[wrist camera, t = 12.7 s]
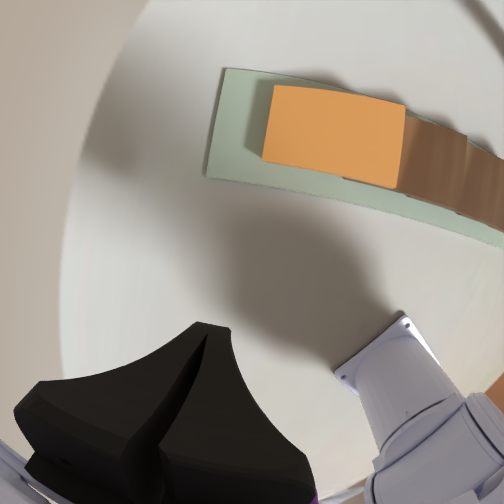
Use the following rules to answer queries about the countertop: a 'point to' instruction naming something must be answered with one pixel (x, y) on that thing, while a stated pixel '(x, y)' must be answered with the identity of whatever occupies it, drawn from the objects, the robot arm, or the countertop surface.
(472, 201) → the domino
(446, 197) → the domino
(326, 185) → the mat
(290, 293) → the countertop surface
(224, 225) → the countertop surface
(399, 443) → the robot arm
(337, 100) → the orange domino
